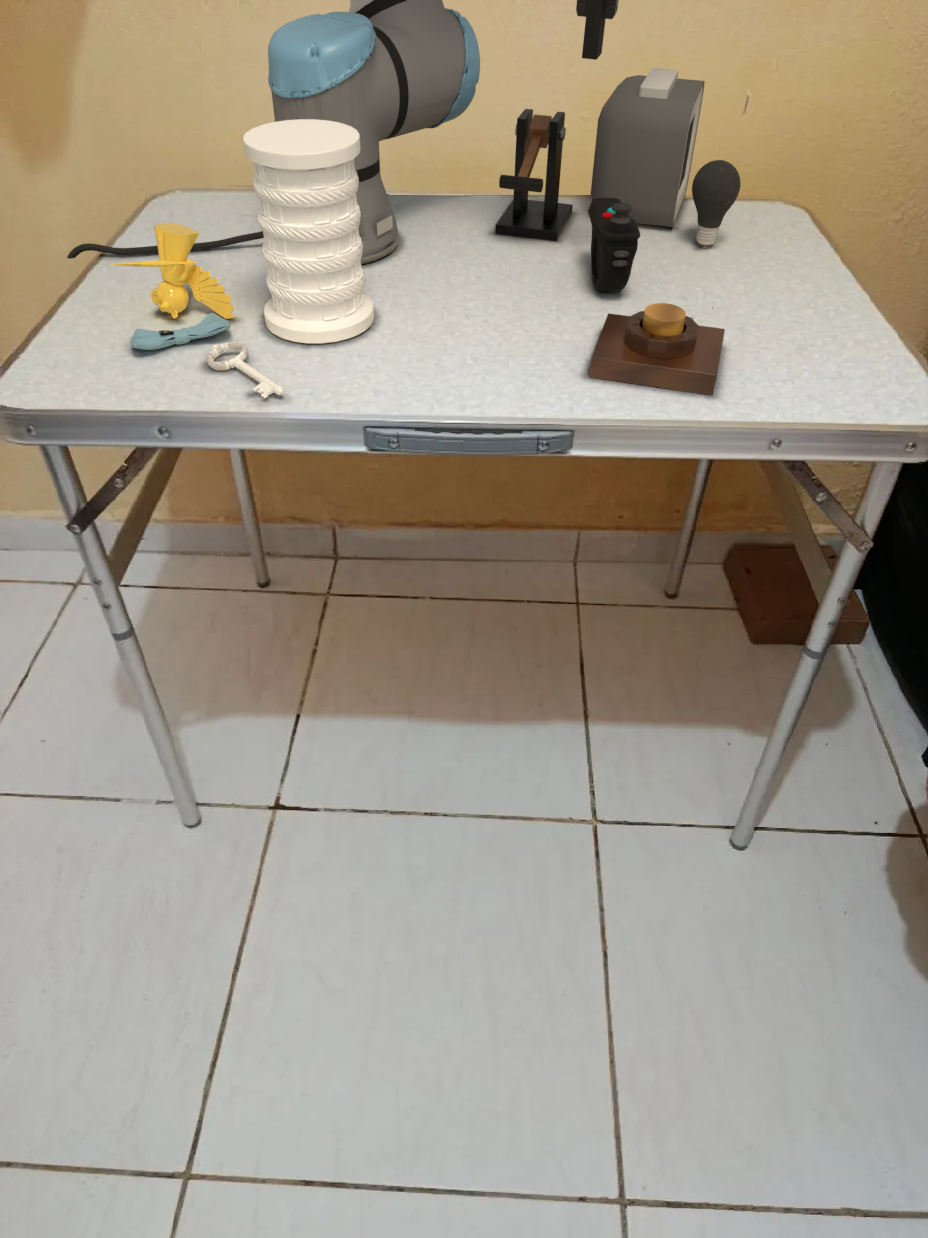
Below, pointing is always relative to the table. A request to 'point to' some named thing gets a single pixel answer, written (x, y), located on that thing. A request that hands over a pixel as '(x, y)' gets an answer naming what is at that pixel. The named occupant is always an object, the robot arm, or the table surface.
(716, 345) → the switch block
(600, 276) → the controller
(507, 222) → the switch bracket
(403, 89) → the robot arm
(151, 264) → the figurine
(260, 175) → the decorative container
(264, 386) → the key
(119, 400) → the table surface
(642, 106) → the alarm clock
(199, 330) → the bow tie
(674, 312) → the power button
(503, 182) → the lever
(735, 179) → the light bulb
